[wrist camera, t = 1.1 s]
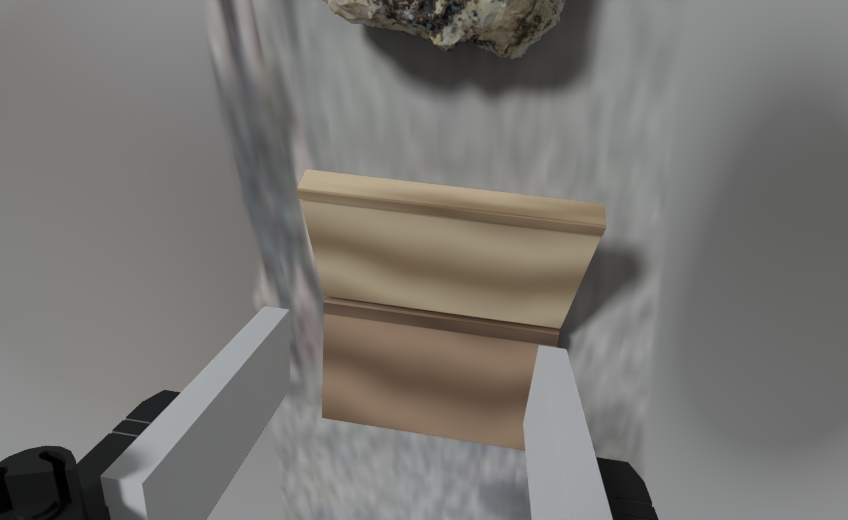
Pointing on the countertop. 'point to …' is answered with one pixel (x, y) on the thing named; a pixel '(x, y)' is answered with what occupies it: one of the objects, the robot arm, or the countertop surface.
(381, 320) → the floor board
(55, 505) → the robot arm
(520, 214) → the board
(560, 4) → the mineral specimen
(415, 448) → the countertop surface
